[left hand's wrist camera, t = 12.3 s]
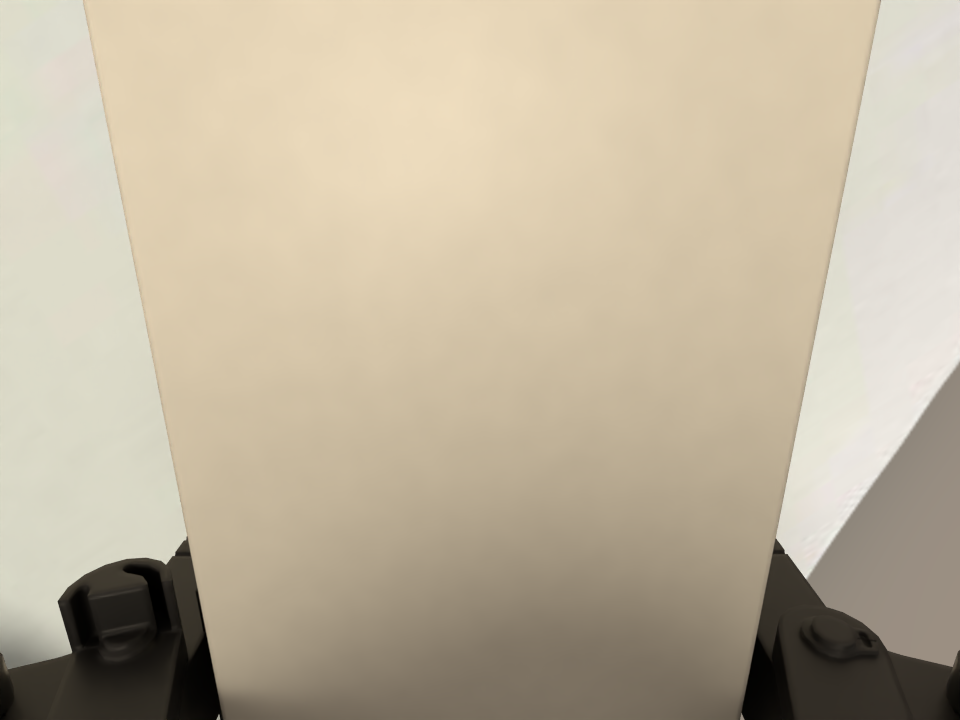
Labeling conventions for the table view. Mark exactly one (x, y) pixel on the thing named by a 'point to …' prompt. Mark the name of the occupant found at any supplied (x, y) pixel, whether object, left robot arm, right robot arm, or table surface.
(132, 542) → the table surface
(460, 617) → the box
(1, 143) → the table surface
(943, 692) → the left robot arm
